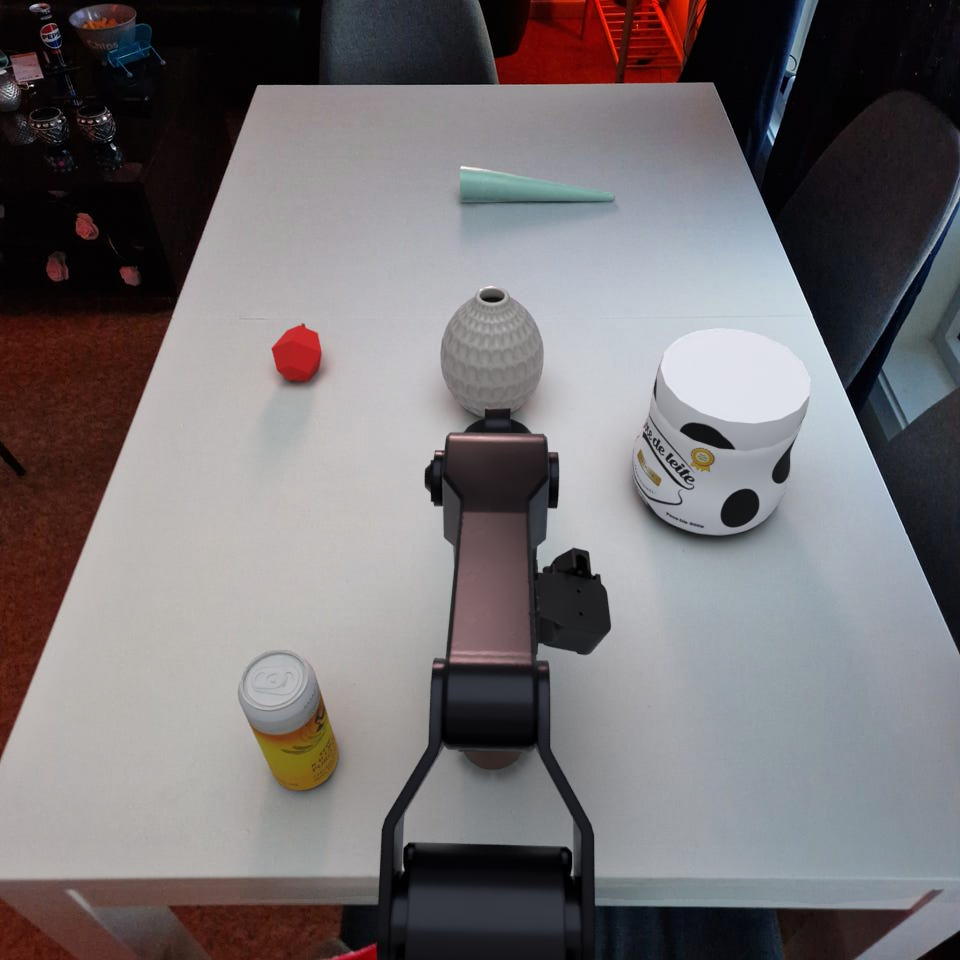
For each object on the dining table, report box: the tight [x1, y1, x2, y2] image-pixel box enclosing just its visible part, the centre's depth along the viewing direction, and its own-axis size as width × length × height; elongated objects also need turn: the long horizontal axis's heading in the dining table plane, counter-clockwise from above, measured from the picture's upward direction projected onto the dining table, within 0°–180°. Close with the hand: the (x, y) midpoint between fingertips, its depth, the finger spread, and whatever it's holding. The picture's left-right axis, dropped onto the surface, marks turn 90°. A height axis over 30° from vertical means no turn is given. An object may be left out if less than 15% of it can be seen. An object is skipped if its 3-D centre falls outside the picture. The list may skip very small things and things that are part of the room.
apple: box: [271, 322, 323, 383], centre depth 110 cm, size 7×7×8 cm
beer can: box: [237, 648, 339, 791], centre depth 69 cm, size 6×6×15 cm
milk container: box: [631, 327, 811, 537], centre depth 90 cm, size 17×17×18 cm
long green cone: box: [459, 165, 616, 203], centre depth 141 cm, size 5×6×27 cm
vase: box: [439, 285, 545, 418], centre depth 102 cm, size 13×13×17 cm
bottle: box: [463, 752, 523, 770], centre depth 72 cm, size 6×6×13 cm
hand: (493, 684), depth 69 cm, fingers closed on cap, 4 cm apart
